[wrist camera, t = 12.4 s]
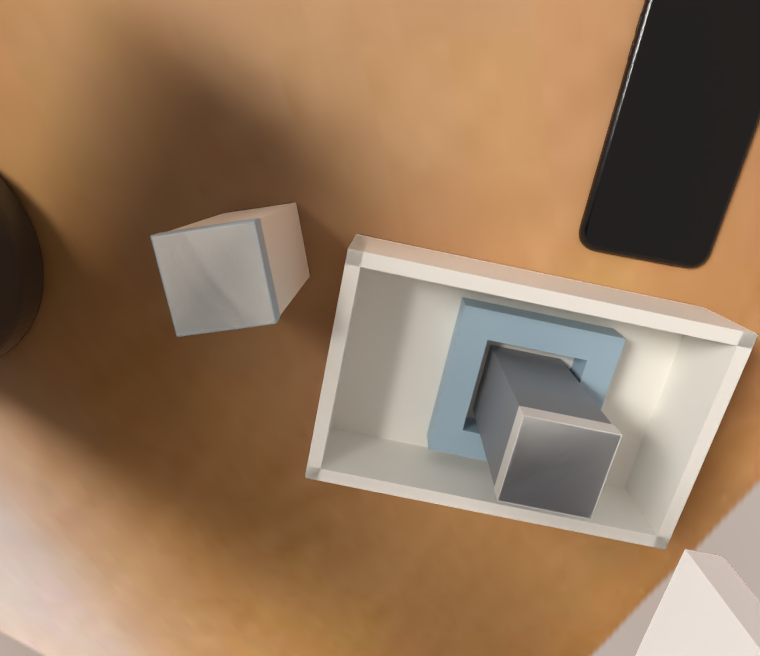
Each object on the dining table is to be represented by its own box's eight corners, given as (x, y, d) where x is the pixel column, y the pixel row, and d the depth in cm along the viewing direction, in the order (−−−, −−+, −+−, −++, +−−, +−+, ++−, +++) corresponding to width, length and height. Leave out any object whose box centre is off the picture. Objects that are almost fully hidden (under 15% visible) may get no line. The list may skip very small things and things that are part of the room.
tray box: (318, 432, 38) (304, 477, 32) (356, 233, 33) (347, 248, 28) (629, 495, 38) (665, 549, 33) (703, 306, 34) (758, 334, 29)
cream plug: (238, 286, 35) (176, 336, 25) (221, 212, 33) (150, 235, 24) (310, 276, 34) (275, 323, 25) (296, 201, 33) (254, 220, 24)
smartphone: (698, 269, 34) (806, -29, 29) (706, 272, 33) (818, -35, 28) (571, 245, 34) (658, -58, 29) (575, 247, 33) (666, -65, 28)
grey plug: (471, 409, 36) (497, 501, 27) (490, 343, 35) (523, 415, 25) (540, 423, 36) (590, 519, 27) (561, 358, 35) (622, 435, 25)
